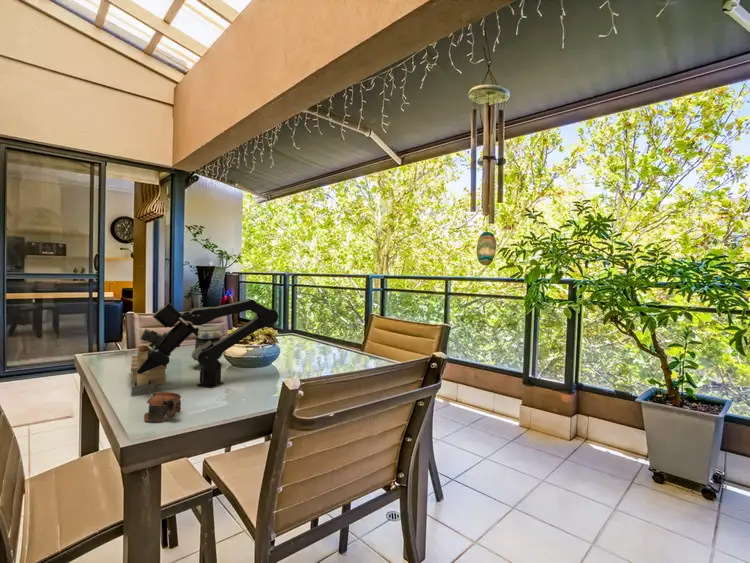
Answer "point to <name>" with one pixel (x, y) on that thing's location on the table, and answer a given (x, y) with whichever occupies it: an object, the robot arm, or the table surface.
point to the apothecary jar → (206, 338)
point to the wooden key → (142, 356)
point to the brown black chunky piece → (162, 406)
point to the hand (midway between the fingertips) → (137, 371)
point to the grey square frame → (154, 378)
